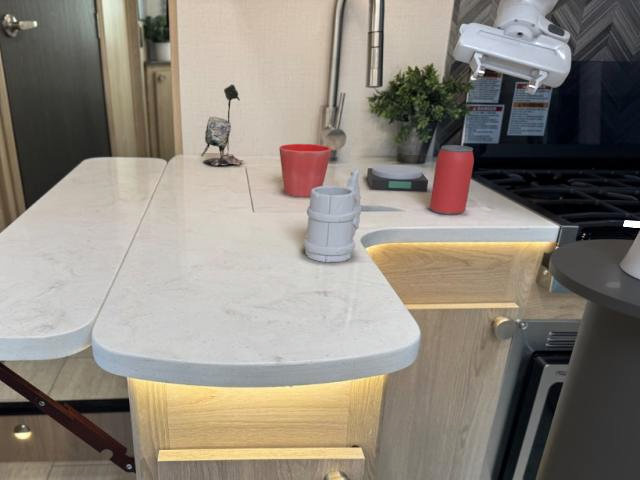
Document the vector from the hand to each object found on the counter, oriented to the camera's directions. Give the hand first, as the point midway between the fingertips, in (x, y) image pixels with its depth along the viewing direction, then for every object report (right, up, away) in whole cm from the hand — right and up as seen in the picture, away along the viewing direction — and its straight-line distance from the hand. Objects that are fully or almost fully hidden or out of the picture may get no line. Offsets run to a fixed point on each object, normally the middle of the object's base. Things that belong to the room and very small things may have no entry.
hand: (504, 83), depth 99 cm
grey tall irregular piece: (-52, -2, +50) cm, 72 cm away
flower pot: (-33, -15, +22) cm, 43 cm away
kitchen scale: (-11, -12, +29) cm, 34 cm away
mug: (-32, -31, -12) cm, 47 cm away
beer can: (-7, -21, +9) cm, 24 cm away
